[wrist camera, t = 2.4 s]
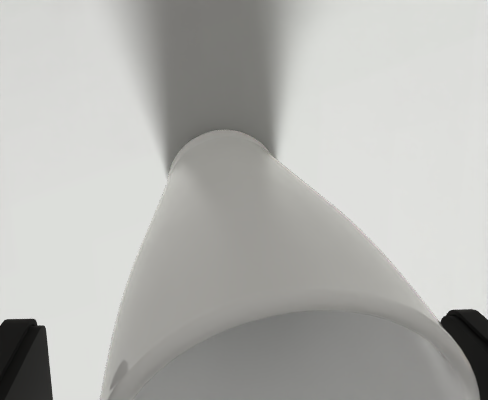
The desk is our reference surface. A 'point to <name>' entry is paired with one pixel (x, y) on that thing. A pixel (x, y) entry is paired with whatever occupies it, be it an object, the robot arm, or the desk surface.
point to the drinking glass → (269, 296)
